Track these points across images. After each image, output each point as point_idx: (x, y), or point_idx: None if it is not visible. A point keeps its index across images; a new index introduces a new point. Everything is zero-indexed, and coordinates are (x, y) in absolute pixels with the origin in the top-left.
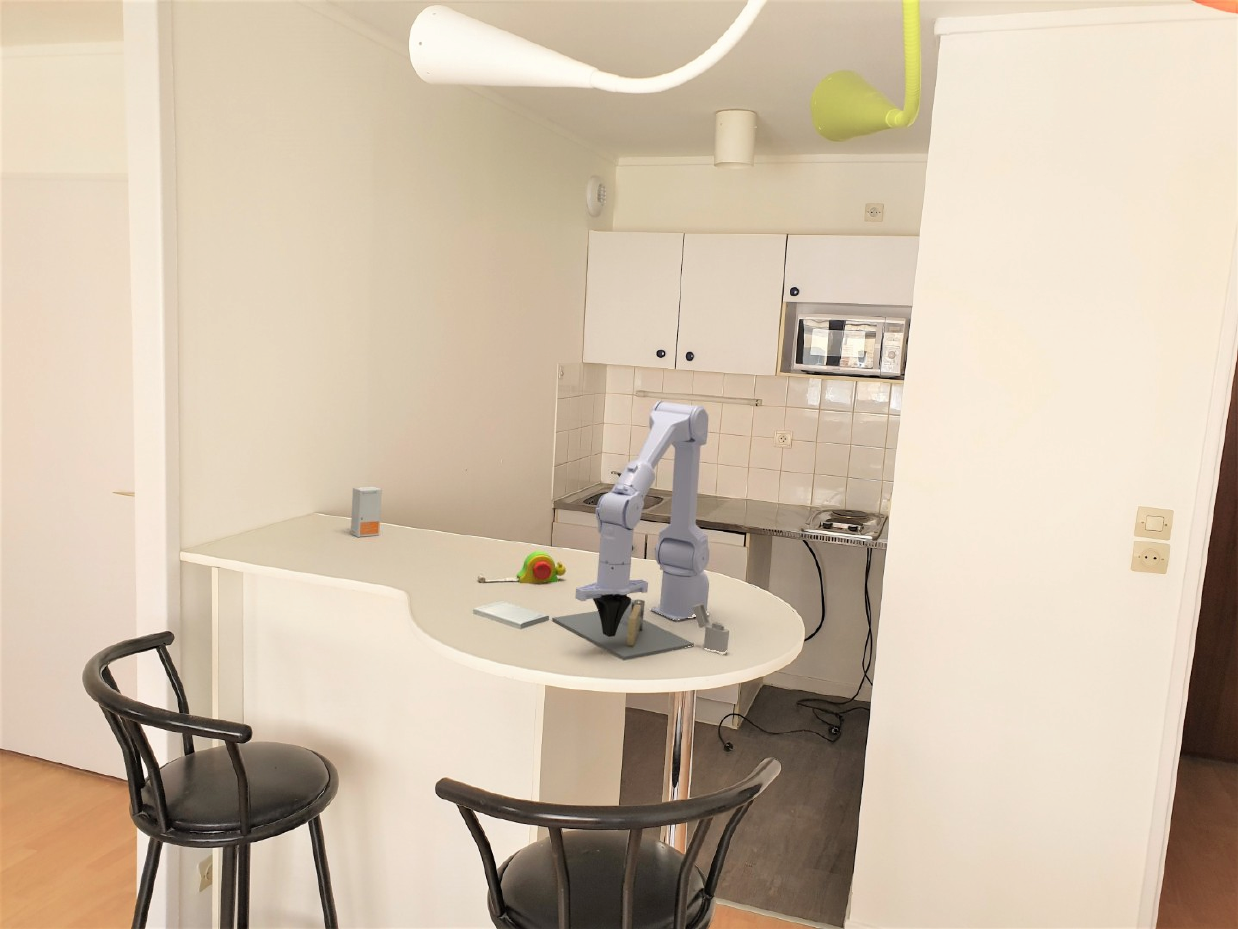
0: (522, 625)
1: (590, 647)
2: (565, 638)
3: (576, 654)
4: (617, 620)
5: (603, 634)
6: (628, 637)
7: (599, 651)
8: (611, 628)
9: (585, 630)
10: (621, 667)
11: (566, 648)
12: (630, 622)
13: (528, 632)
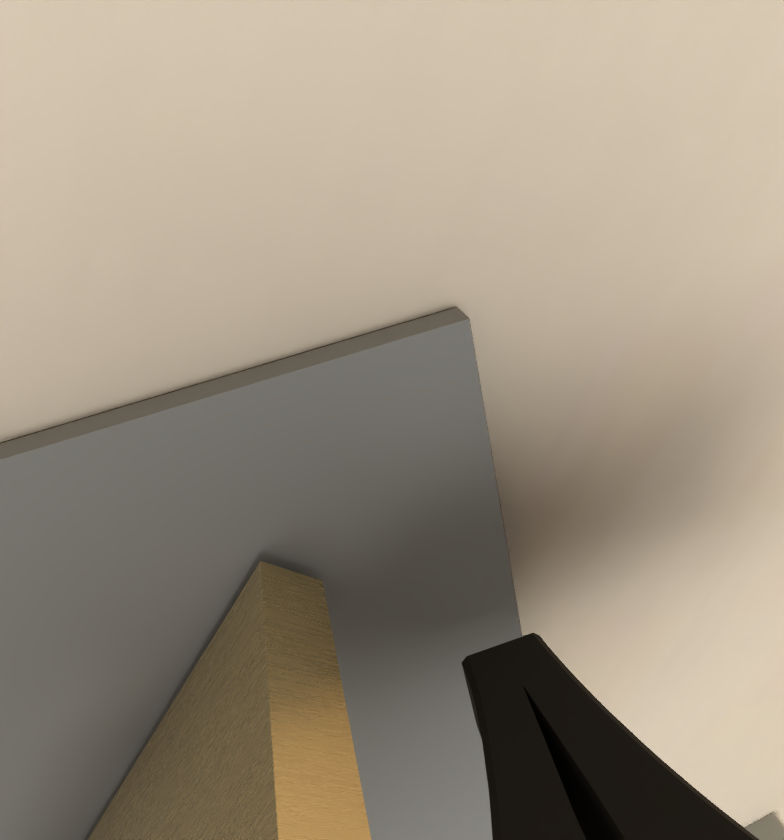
0: (774, 837)
1: (577, 601)
2: (640, 729)
3: (751, 479)
4: (555, 824)
5: (402, 783)
6: (323, 641)
7: (557, 528)
8: (581, 704)
9: (491, 826)
10: (579, 100)
11: (739, 584)
12: (346, 821)
13: (767, 782)
